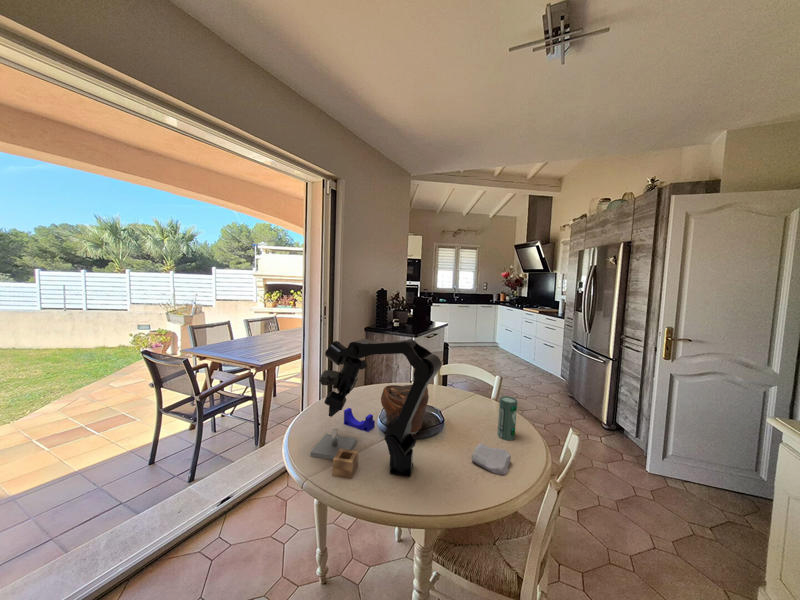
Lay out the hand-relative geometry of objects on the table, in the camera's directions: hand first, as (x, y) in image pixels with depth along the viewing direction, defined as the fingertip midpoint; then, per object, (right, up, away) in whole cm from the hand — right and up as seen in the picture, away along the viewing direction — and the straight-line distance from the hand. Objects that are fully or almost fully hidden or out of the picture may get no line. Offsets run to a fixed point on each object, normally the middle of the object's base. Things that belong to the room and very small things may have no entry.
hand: (334, 408), depth 108 cm
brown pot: (+25, -13, +14) cm, 31 cm away
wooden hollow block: (+6, -15, -13) cm, 21 cm away
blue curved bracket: (+7, -13, +15) cm, 21 cm away
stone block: (+53, -17, -7) cm, 56 cm away
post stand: (0, -14, -2) cm, 14 cm away
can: (+65, -15, +11) cm, 68 cm away
